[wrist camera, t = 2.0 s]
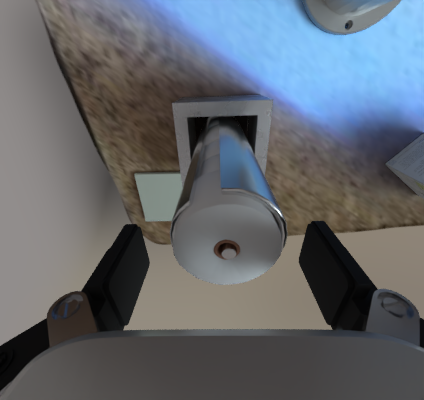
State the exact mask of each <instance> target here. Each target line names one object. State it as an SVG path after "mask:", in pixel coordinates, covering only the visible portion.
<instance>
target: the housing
mask: <svg viewBox="0 0 424 400" xmlns="http://www.w3.org/2000/svg"><path fill="white" fill-rule="evenodd" d="M272 105H273V99H270V98H267V97H265V96H262V95H232V96H204V97H182V98H180V99H179V100H177V101H175V102H173V103H172V108H173V116H174V124H175V132H176V140H177V148H178V157H179V165H180V173H181V181H182V188H183V185H184V182H185V179H186V175H187V172H188V169H189V166H190V163H191V160H192V157H193V154H194V150H195V147H196V130H195V117H213V116H244V115H248V125H247V140H248V142H249V144H250V147H251V149H252V151H253V153H254V155H255V157H256V159H257V161H258V163H259V165H260V167H261V170H262V172H263V174H264V176H265V168H266V159H267V150H268V141H269V132H270V123H271V114H272Z"/></svg>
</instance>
